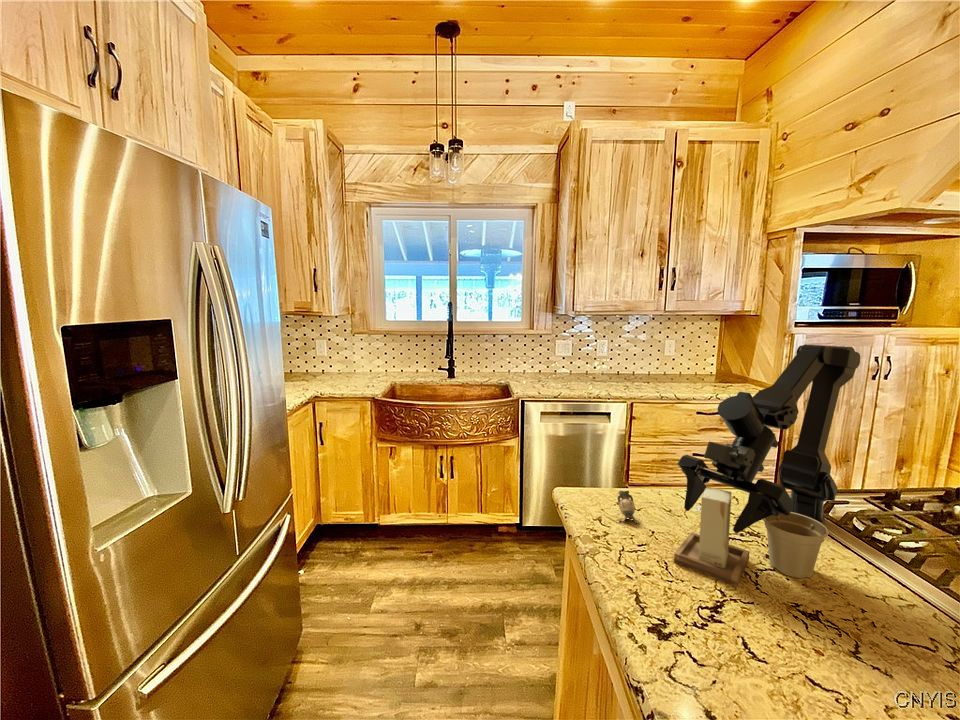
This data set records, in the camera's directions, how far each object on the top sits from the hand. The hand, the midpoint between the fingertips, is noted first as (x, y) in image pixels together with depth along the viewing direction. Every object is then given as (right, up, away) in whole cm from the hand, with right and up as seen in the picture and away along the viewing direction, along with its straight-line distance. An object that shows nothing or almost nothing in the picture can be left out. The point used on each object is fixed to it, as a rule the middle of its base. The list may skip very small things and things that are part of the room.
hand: (709, 520), depth 74 cm
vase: (-9, -7, +19) cm, 22 cm away
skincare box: (+2, -8, +2) cm, 8 cm away
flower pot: (+14, -9, -1) cm, 17 cm away
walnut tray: (+1, -8, +2) cm, 9 cm away
